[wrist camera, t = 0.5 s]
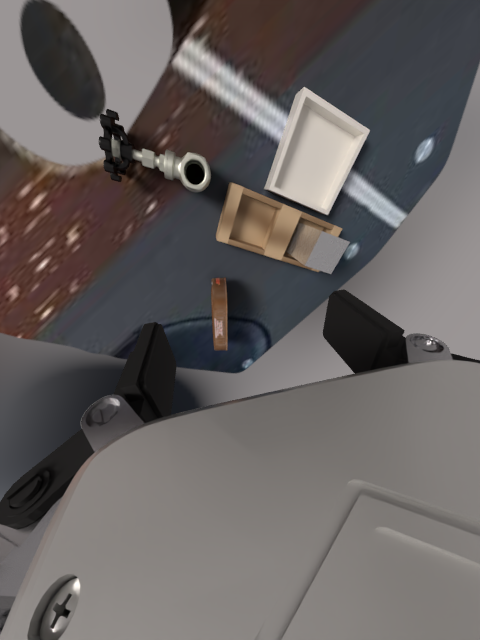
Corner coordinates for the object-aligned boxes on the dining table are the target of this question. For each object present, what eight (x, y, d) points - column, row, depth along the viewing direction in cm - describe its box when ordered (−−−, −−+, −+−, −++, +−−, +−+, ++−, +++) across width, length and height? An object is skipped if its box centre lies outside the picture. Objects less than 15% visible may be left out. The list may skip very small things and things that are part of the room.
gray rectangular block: (295, 221, 35) (322, 231, 27) (318, 230, 36) (349, 242, 29) (283, 249, 37) (304, 265, 30) (305, 257, 39) (331, 274, 31)
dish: (295, 94, 26) (304, 86, 24) (358, 134, 30) (370, 130, 28) (264, 189, 32) (268, 189, 30) (320, 213, 35) (327, 215, 33)
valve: (213, 151, 28) (117, 117, 25) (217, 143, 23) (94, 98, 19) (205, 203, 31) (120, 180, 28) (207, 207, 26) (101, 179, 23)
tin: (225, 333, 46) (230, 359, 39) (211, 334, 46) (214, 361, 39) (225, 270, 38) (231, 289, 31) (208, 270, 37) (210, 290, 31)
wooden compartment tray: (229, 182, 30) (232, 182, 28) (332, 225, 37) (342, 228, 34) (215, 236, 34) (216, 240, 32) (311, 266, 41) (318, 272, 38)
